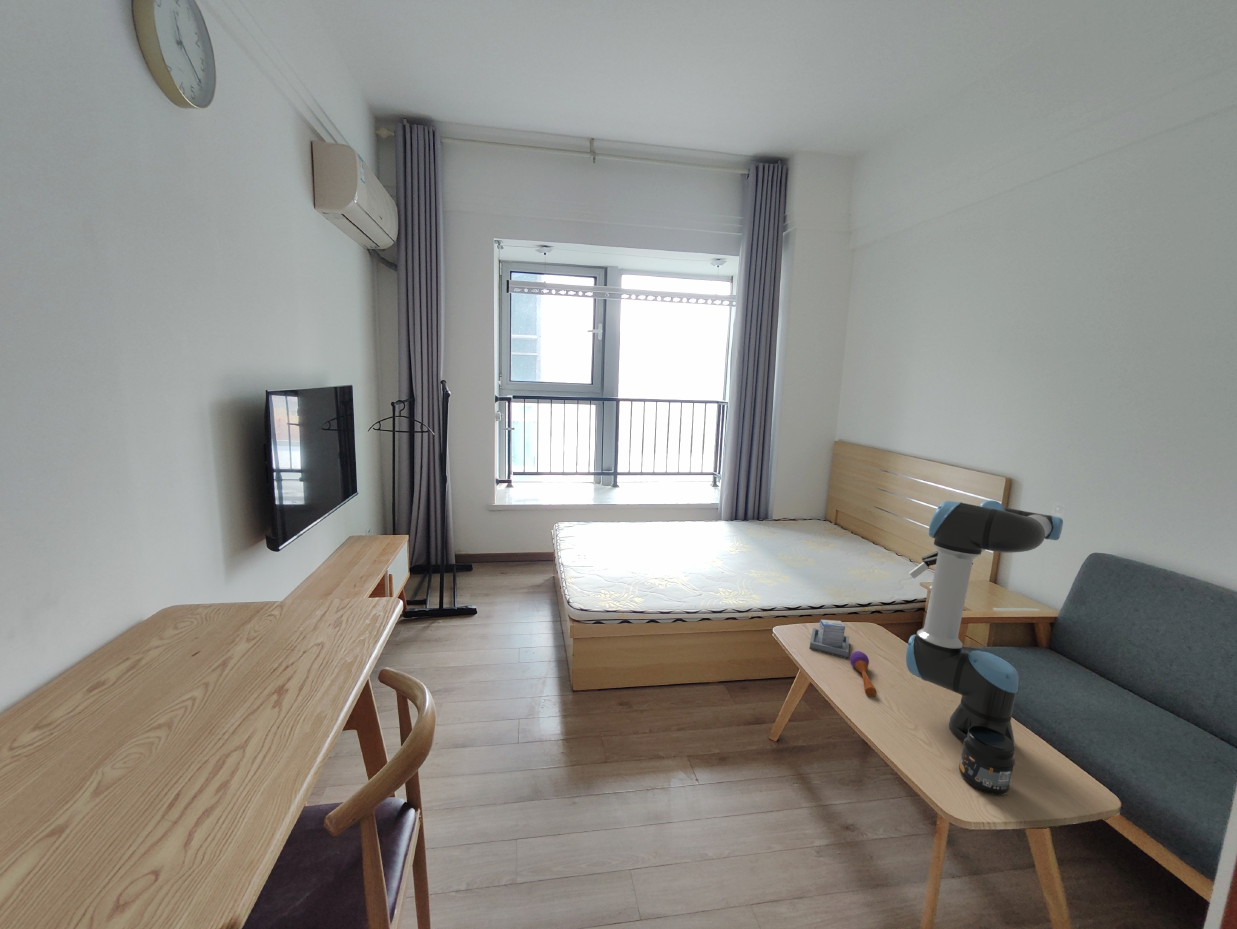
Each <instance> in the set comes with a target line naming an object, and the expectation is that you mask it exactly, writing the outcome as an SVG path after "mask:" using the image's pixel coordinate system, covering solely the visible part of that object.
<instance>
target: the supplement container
mask: <svg viewBox="0 0 1237 929" xmlns="http://www.w3.org/2000/svg"><path fill="white" fill-rule="evenodd" d="M962 744H963V746H962V751H961V757H960V761H959V766H958V770H959V774H960V775H961V777H962V778H963V779H964V780H965V782H967V783H968V784H969V785H971V786H972V787H973V788H975V789H976V788H977V790H978V791H980V790H981V791H980V792H983V793H984V794H985V793H986V794H989V795H994V796H1003V795H1005V794H1008V792H1009V791H1010V786H1011V780H1012V775H1013V771H1014V767H1015V765H1016V758H1015V751H1016V745H1015V744H1013V742H1012V741H1011V740H1010V739H1009V738H1008V737H1006V736H1005V735H1003V734H1002V733H1000V732H998V731H996V730H993V729H991V728H987V727H983V726H973V727H970V728H969V730H968V734H967V737H966V738H965V739H964V742H962Z"/></svg>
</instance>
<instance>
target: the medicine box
mask: <svg viewBox="0 0 1237 929" xmlns="http://www.w3.org/2000/svg"><path fill="white" fill-rule="evenodd" d="M818 629H819V632H818V642H819V643H820V644H824V645H828V646H832V647H842V646H843V639H844V635H845V630H846V626H845V624H844V623H843V622H842V621H841V620H830V619H819V626H818Z"/></svg>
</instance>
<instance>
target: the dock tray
mask: <svg viewBox="0 0 1237 929" xmlns="http://www.w3.org/2000/svg"><path fill="white" fill-rule="evenodd" d="M818 632H819V628H815V627H812V632H811V637H810V642H809V649H810V650H813V651H817V652H820V651H821V653H824V652H825V654H828V653H829V655H832V654H834V655H833V656H836V655H837V657H840V656H842V657H841V658H844V657H846V658H845V659H848V658H849V651H850V636H849V635H845V634H844V639H843V646H842V647H832V646H828V645H824V644H820V643H819V642H818Z"/></svg>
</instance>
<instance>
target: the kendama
mask: <svg viewBox="0 0 1237 929" xmlns="http://www.w3.org/2000/svg"><path fill="white" fill-rule="evenodd" d="M869 660H870V659H869V657H868V656H867V653H865V652H863V651H860V650H856V651H852V653H851V655H850V656H849V661H850V662H849V663H850V665H851V666H852V667H853V668H854V669H855V670H856V671H858V672H860V673H861V675H862V681H863V687H864V692H865V694H866V696H870V697H875V696H876V695H877V689H876V687H875V686H874V684H873V682H872V681H871V678H870V677H869V676H868V674H867V670H868V668H869V664H870V661H869Z"/></svg>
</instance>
